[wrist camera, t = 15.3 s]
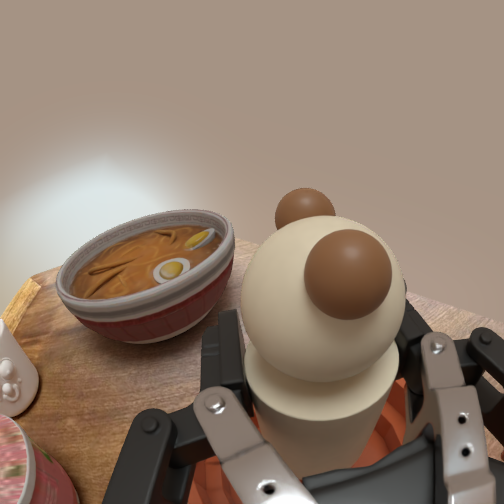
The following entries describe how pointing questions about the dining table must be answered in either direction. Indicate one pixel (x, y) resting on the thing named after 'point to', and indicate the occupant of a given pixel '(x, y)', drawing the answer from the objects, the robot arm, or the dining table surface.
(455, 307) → the dining table surface
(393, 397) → the terracotta bowl
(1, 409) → the mug
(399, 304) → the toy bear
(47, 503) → the container
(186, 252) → the bowl
